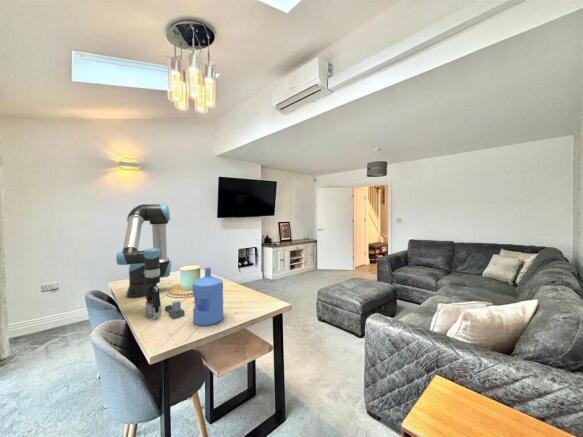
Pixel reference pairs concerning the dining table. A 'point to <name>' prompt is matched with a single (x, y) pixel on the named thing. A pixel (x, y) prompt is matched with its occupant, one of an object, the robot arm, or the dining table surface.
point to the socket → (151, 309)
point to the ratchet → (175, 310)
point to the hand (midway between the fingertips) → (153, 315)
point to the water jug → (208, 300)
